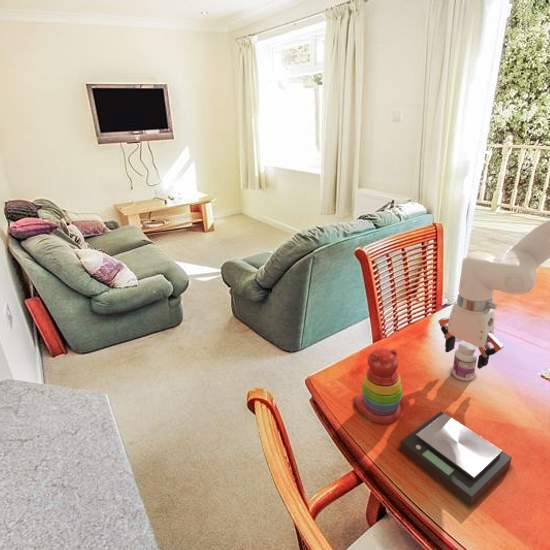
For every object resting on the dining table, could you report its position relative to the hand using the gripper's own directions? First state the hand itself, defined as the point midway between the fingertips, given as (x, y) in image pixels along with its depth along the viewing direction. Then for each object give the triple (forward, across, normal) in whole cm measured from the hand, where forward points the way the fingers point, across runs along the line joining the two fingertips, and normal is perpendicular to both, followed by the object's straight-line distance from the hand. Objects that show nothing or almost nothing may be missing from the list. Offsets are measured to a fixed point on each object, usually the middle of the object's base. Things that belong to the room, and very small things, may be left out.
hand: (465, 357), depth 100 cm
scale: (+6, -14, +26) cm, 30 cm away
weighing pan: (+2, -14, +25) cm, 29 cm away
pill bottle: (+6, 0, 0) cm, 6 cm away
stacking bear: (+6, +5, +27) cm, 28 cm away
